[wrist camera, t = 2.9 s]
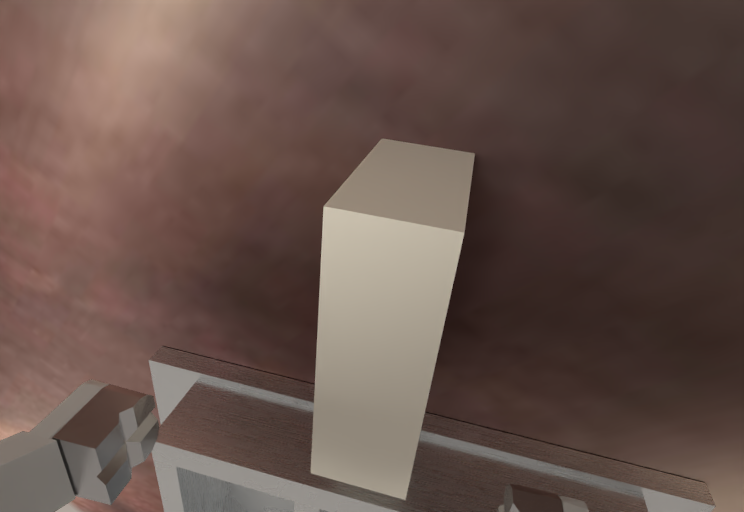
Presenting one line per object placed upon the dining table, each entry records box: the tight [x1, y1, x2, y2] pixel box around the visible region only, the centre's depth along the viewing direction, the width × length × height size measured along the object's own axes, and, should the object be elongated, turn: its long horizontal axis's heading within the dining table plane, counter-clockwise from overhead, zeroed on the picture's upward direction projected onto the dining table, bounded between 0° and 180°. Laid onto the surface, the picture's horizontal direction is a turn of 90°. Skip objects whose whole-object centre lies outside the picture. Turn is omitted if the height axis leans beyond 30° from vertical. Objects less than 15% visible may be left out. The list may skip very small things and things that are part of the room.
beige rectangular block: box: [311, 139, 475, 500], centre depth 14 cm, size 3×9×6 cm, turn 174°
